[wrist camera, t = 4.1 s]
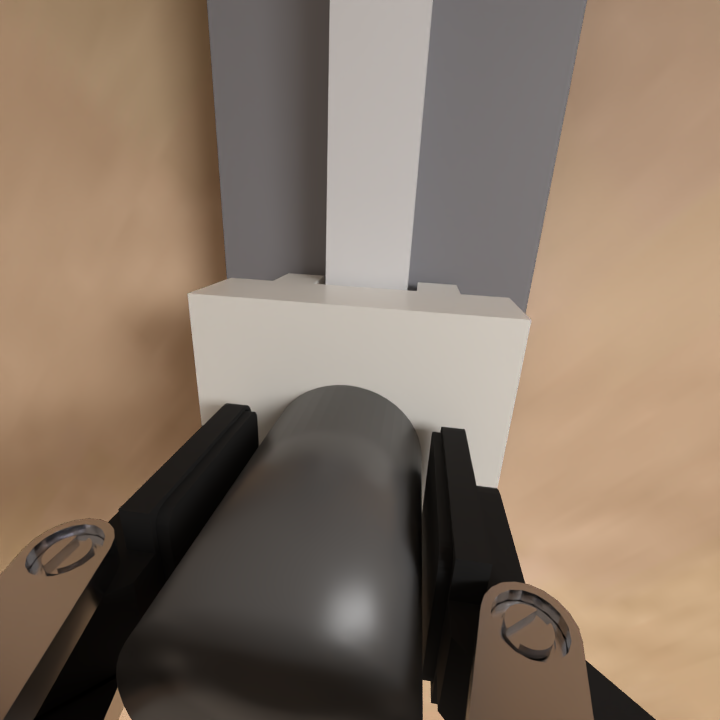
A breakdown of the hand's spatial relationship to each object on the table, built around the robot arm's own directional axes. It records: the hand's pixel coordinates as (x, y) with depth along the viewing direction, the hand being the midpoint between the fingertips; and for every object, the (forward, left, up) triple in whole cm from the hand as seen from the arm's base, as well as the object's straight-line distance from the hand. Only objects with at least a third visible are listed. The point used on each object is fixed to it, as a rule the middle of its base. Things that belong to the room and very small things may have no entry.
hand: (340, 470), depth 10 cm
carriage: (0, 0, -5) cm, 5 cm away
